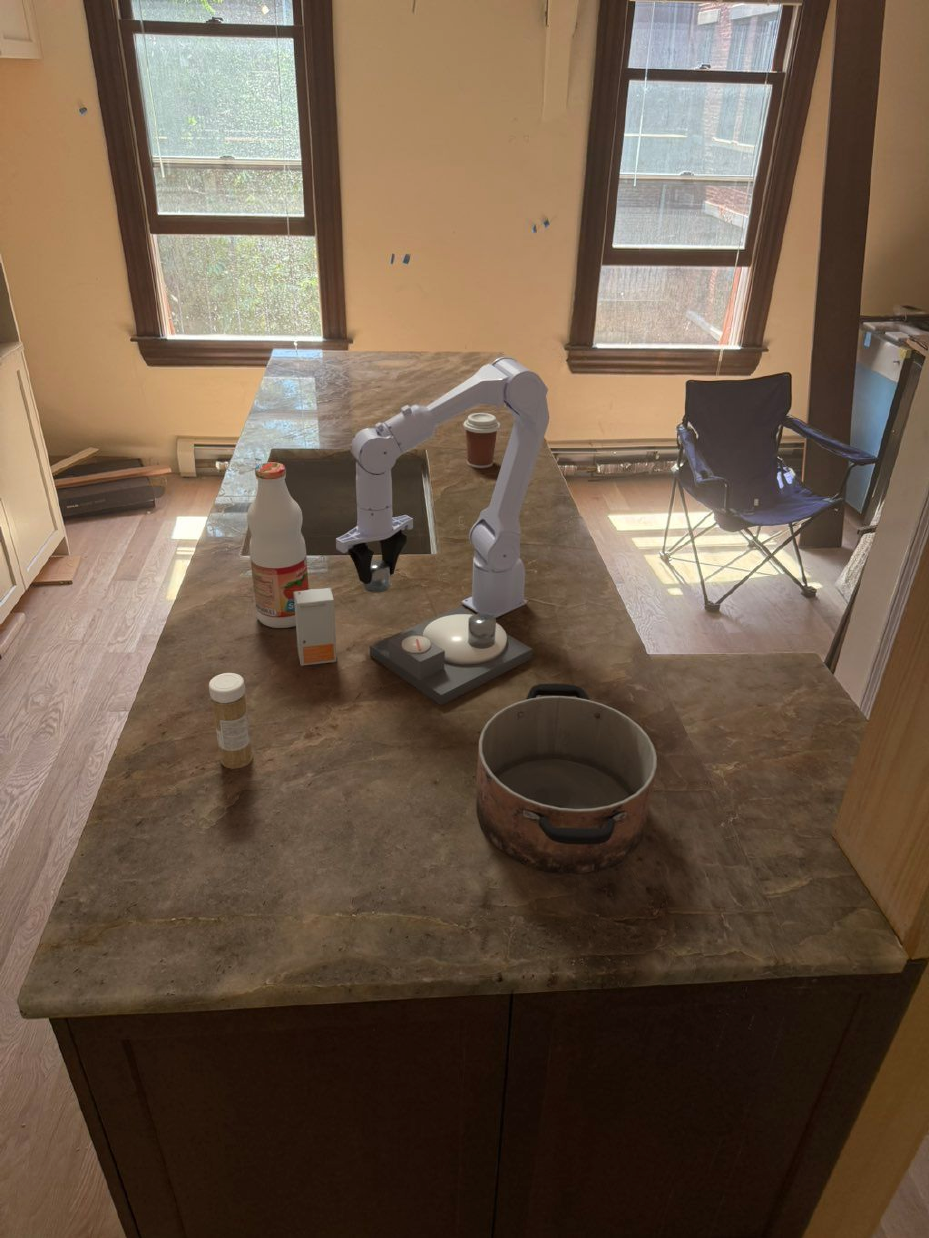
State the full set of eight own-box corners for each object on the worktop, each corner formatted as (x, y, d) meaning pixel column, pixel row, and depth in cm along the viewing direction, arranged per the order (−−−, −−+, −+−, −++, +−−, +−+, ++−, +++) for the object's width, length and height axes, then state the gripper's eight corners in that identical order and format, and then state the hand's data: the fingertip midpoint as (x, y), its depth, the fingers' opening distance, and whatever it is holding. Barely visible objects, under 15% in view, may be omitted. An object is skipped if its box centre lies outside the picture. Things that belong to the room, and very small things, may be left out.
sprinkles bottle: (222, 749, 124) (211, 671, 117) (255, 748, 125) (245, 670, 118) (218, 771, 120) (205, 692, 113) (251, 769, 121) (241, 690, 114)
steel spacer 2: (481, 631, 148) (482, 610, 145) (500, 642, 145) (501, 621, 143) (462, 640, 145) (462, 619, 143) (480, 651, 142) (481, 631, 140)
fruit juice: (265, 600, 160) (250, 455, 146) (316, 604, 159) (306, 458, 145) (250, 627, 152) (232, 476, 137) (303, 631, 151) (291, 480, 137)
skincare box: (300, 667, 142) (295, 603, 136) (297, 653, 146) (292, 590, 139) (338, 662, 144) (334, 599, 137) (334, 648, 147) (330, 586, 141)
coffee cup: (456, 459, 223) (457, 413, 217) (488, 455, 227) (490, 409, 220) (471, 472, 216) (473, 425, 210) (504, 467, 220) (506, 420, 213)
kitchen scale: (459, 615, 157) (460, 586, 154) (531, 658, 146) (533, 628, 143) (370, 655, 146) (369, 624, 143) (441, 705, 134) (441, 673, 131)
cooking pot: (474, 737, 128) (476, 677, 123) (625, 740, 129) (635, 681, 123) (477, 900, 103) (481, 834, 97) (666, 903, 103) (680, 837, 98)
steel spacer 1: (379, 577, 153) (378, 557, 151) (395, 587, 150) (395, 566, 148) (358, 585, 150) (357, 564, 148) (374, 595, 147) (373, 574, 145)
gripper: (394, 485, 149) (395, 556, 156) (323, 507, 140) (327, 581, 147) (420, 498, 144) (420, 570, 152) (349, 521, 136) (352, 597, 143)
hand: (376, 577), depth 149 cm, fingers closed on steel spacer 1, 4 cm apart
